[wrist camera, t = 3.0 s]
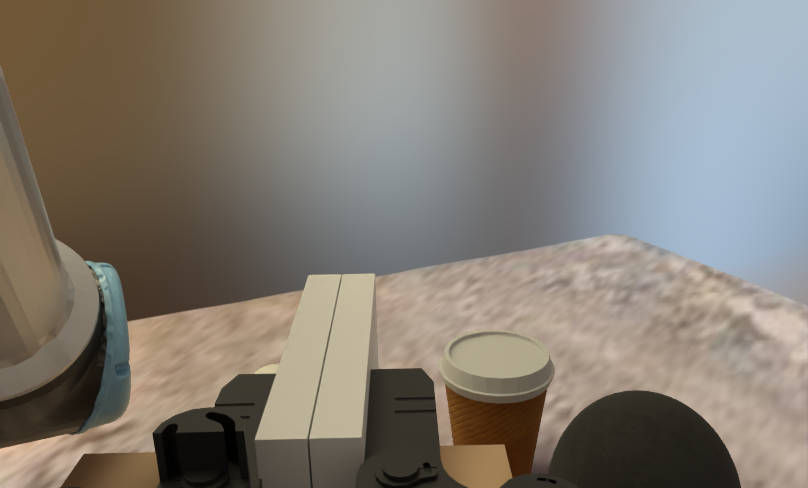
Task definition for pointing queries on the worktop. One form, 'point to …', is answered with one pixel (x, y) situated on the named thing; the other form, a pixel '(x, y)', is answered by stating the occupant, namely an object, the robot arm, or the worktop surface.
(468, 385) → the disposable coffee cup
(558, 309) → the worktop surface
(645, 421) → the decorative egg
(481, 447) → the mount
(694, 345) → the worktop surface
